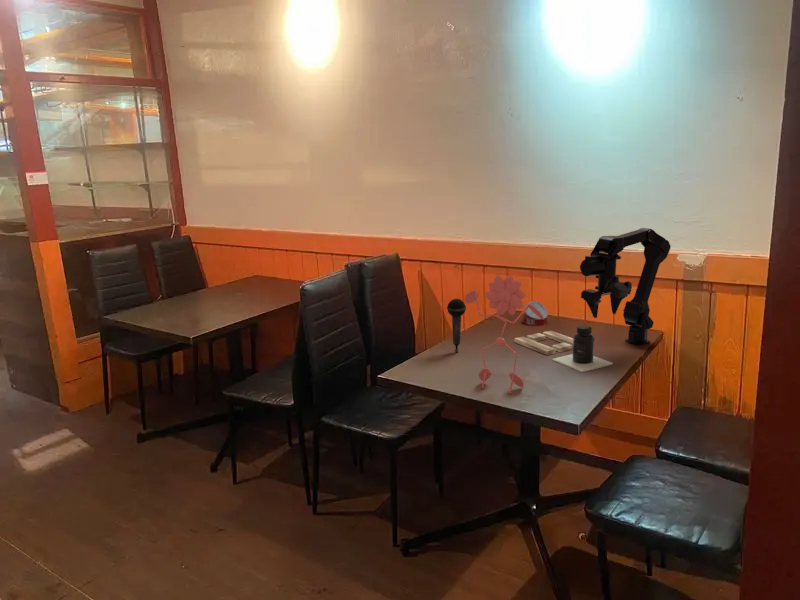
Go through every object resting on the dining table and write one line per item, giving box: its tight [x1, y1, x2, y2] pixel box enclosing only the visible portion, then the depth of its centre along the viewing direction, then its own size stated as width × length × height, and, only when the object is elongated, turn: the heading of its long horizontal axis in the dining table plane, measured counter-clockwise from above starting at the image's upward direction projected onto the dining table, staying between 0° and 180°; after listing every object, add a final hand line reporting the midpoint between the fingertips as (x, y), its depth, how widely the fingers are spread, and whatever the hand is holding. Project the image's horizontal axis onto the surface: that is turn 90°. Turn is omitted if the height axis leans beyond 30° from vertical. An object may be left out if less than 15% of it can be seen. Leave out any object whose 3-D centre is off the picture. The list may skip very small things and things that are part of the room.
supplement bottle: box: [572, 325, 595, 364], centre depth 212 cm, size 7×7×12 cm
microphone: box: [446, 298, 467, 353], centre depth 224 cm, size 7×7×20 cm
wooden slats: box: [513, 330, 573, 356], centre depth 233 cm, size 18×18×2 cm
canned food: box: [522, 300, 549, 327], centre depth 261 cm, size 11×10×10 cm
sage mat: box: [552, 353, 613, 373], centre depth 213 cm, size 14×14×1 cm
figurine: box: [464, 274, 544, 398], centre depth 192 cm, size 15×26×35 cm, turn 59°
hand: (604, 315), depth 221 cm, fingers open, 9 cm apart
